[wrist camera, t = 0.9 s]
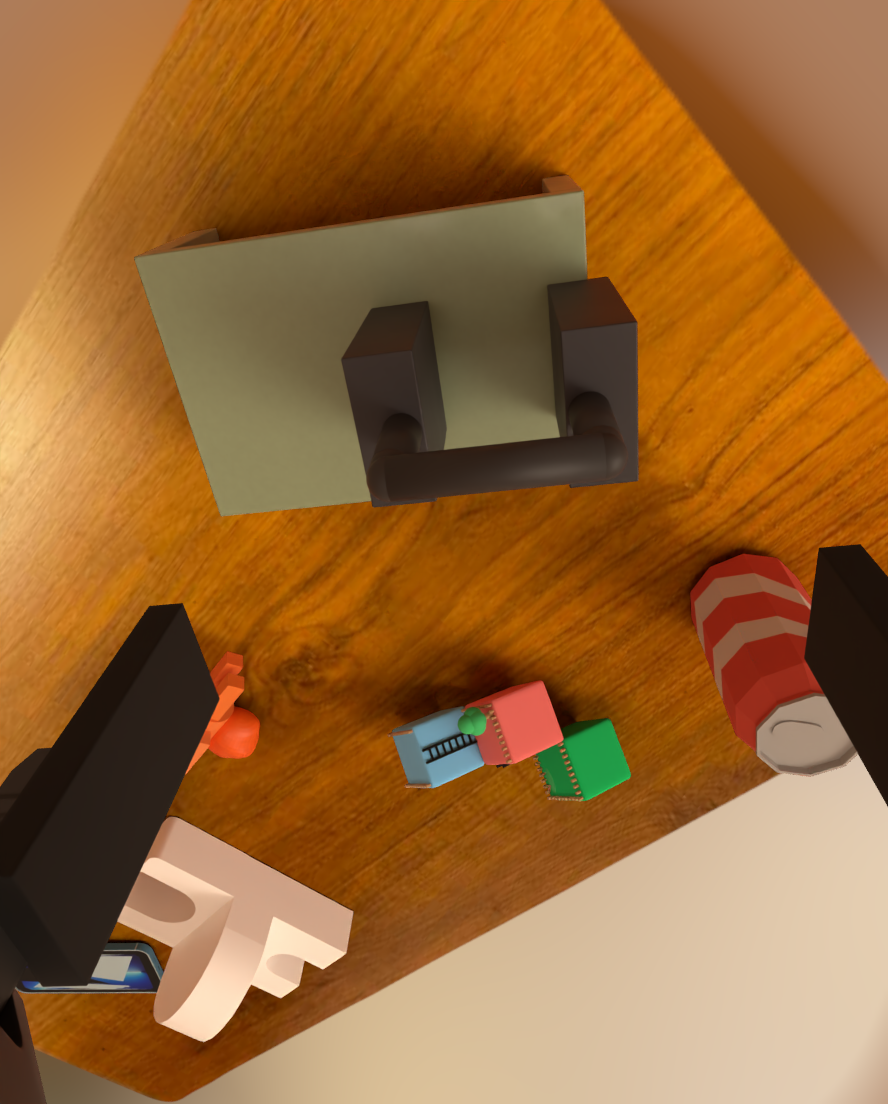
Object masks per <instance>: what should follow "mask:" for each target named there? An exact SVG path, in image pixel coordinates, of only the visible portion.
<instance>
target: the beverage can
mask: <svg viewBox="0 0 888 1104" xmlns="http://www.w3.org/2000/svg"><path fill="white" fill-rule="evenodd" d="M690 596H691V617H692V621H693V624H694V626H695V629H696V631H697V634H698V637H699V639H700V642H701V645H702V647H703V650H704V653H705V655H706V658H707V660H708V663H709V666H710V668H711V671H712V674H713V676H714V679H715V681H716V684H717V687H718V689H719V692H720V695H721V697H722V700H723V703H724V705H725V708H726V710H727V713H728V716H729V718H730V721H731V724H732V726H733V729H734V731H735V734H736V735H737V736H738V737H739V738H740V739H741V740H743V741H744V742H745V743H746V744H747V745H749V746H750V747H751V748H752V749H753V750H754V751H756V754H757V756H758V757H759V758H761V759H762V760H763V761H764V762H765V763H766V764H768V765H769V766H770V767H771V768H772V769H774V770H775V771H776V772H777V773H786V774H793V775H802V776H810V777H811V776H814V775H817V774H820V773H824V772H827V771H830V770H834V769H837V768H840V767H844V766H846V764H848V763H849V762H850V761H851V760H852V759H853V758H854V757H855V756H857V754H858V753H857V751H856V749H855V748H854V746H853V744H852V742H851V740H850V739H849V737H848V735H847V733H846V732H845V730H844V728H843V726H842V725H841V723H840V721H839V719H838V717H837V716H836V714H835V712H834V710H833V709H832V707H831V705H830V703H829V702H828V700H827V698H826V696H825V694H824V693H823V691H822V689H821V687H820V686H819V684H818V682H817V680H816V679H815V677H814V675H813V673H812V671H811V670H810V668H809V666H808V664H807V663H806V661H805V659H804V655H805V647H806V640H807V633H808V625H809V618H810V610H811V603H812V600H811V599H810V597H809V595H808V594H807V592H806V591H805V589H804V587H803V586H802V584H801V583H800V581H799V580H798V578H797V577H796V576H795V575H794V574H793V573H792V572H791V571H790V570H789V569H788V568H787V567H786V566H785V565H784V564H783V563H782V562H781V561H780V560H779V559H778V558H774V557H766V556H758V555H750V554H741V555H739V556H736V557H734V558H731V559H729V560H726V561H724V562H721V563H719V564H716V565H714V566H711V567H709V569H708V570H707V571H706V573H705V574H704V575H703V576H702V578H701V579H700V580H699V582H698V583H697V584H696V585H695V587H694V588H693V589H692V591H691V592H690Z"/></svg>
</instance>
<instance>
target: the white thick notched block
mask: <svg viewBox="0 0 888 1104" xmlns="http://www.w3.org/2000/svg"><path fill="white" fill-rule="evenodd" d="M352 917H353V911H351V910H349V909H347V908H345V907H344V906H342V905H340V904H338V903H336V902H334V901H332V900H330V899H329V898H327V897H325V896H323V895H321V894H319V893H317V892H315V891H314V890H312V889H310V888H308V887H306V886H304V885H302V884H300V883H299V882H297V881H295V880H293V879H291V878H289V877H287V876H285V875H283V874H282V873H280V872H278V871H276V870H274V869H272V868H270V867H268V866H267V865H265V864H263V863H261V862H259V861H257V860H255V859H253V858H252V857H250V856H248V855H247V854H245V853H243V852H241V851H240V850H238V849H236V848H234V847H232V846H230V845H228V844H226V843H225V842H223V841H221V840H219V839H217V838H215V837H213V836H211V835H210V834H208V833H206V832H204V831H202V830H200V829H198V828H196V827H195V826H193V825H191V824H189V823H187V822H185V821H183V820H181V819H180V818H177V817H169V818H167V819H166V820H165V821H164V822H163V823H162V825H161V827H160V830H159V832H158V834H157V836H156V838H155V840H154V843H153V845H152V847H151V849H150V851H149V853H148V856H147V858H146V860H145V862H144V864H143V866H142V869H141V871H140V873H139V875H138V877H137V879H136V882H135V884H134V886H133V888H132V890H131V892H130V895H129V897H128V899H127V901H126V903H125V905H124V908H123V910H122V912H121V914H120V916H119V918H118V922H120V923H122V924H124V925H126V926H128V927H131V928H133V929H135V930H137V931H139V932H141V933H143V934H145V935H147V936H150V937H152V938H154V939H156V940H158V941H160V942H162V943H164V944H167V945H169V946H171V947H173V949H172V952H171V955H170V957H169V960H168V963H167V965H166V968H165V971H164V973H163V976H162V979H161V982H160V985H159V988H158V991H157V995H156V999H155V1004H154V1018H155V1020H156V1022H158V1023H160V1024H162V1025H164V1026H167V1027H169V1028H171V1029H174V1030H176V1031H178V1032H181V1033H183V1034H185V1035H187V1036H190V1037H192V1038H194V1039H197V1040H199V1041H203V1042H205V1041H207V1040H209V1039H211V1038H213V1037H214V1036H215V1035H216V1034H217V1033H218V1032H219V1031H220V1030H222V1028H223V1027H224V1026H225V1025H226V1023H227V1022H228V1021H229V1020H230V1018H231V1017H232V1016H233V1014H234V1013H235V1011H236V1009H237V1008H238V1006H239V1005H240V1003H241V1002H242V1000H243V998H244V996H245V994H246V992H247V990H248V988H249V987H250V985H251V984H252V985H254V986H256V987H258V988H260V989H262V990H264V991H267V992H269V993H271V994H273V995H275V996H277V997H279V998H282V997H283V996H285V995H286V994H288V993H289V992H291V991H292V990H294V989H295V988H297V987H298V986H299V983H300V979H301V974H302V970H303V965H304V960H305V961H307V962H309V963H311V964H313V965H315V966H317V967H319V968H321V969H324V968H326V967H327V966H329V965H330V964H332V963H333V962H335V961H336V960H337V959H339V958H340V957H342V956H343V955H345V954H346V952H347V946H348V940H349V934H350V928H351V923H352Z"/></svg>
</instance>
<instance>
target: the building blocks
mask: <svg viewBox="0 0 888 1104" xmlns="http://www.w3.org/2000/svg"><path fill="white" fill-rule="evenodd" d="M390 736H393V738H394V741H395V744H396V747H397V750H398V753H399V756H400V759H401V762H402V765H403V768H404V771H405V774H406V777H407V780H408V782H409V783H408V784H406V785H405V788H406V787H408V788H409V787H410V788H411V787H412V788H435V787H437V786H440V785H442V784H444V783H446V782H448V781H451V780H453V779H455V778H457V777H459V776H462V775H464V774H466V773H468V772H471V771H473V770H475V769H477V768H479V767H481V766H483V765H484V763H485V764H487V765H494V764H499V765H497V768H498V767H500V766H503V768H504V767H506V766H508V765H510V764H514V763H517V762H519V761H521V760H524V759H526V758H528V757H530V756H532V755H534V754H536V756H535V757H533V759H534V760H536V759H538V761H539V762H536V763H535V765H536V766H537V765H539V764H540V768H538V769H537V771H541V770H542V773H541V774H539V776H540V777H542V776H544V778H545V779H543V780H541V782H542V783H543V782H545V781H546V785H544V786H543V787H544V789H545V788H547V787H548V790H547V791H545V793H546V794H548V793H550V795H551V796H549V797H547V799H548V800H550V799H551V800H553V799H554V800H568V801H569V800H571V801H586V800H589V799H591V798H593V797H595V796H597V795H599V794H601V793H603V792H604V791H606V790H608V789H610V788H612V787H614V786H616V785H618V784H620V783H622V782H624V781H625V780H627V779H629V778H630V777H631V773H630V770H629V767H628V765H627V762H626V759H625V757H624V754H623V751H622V749H621V746H620V743H619V741H618V738H617V736H616V733H615V730H614V728H613V725H612V722H611V720H610V719H608V718H604V719H596V720H588V721H580V722H575V723H573V724H571V725H568V726H566V727H564V728H562V729H560V726H559V724H558V721H557V718H556V715H555V713H554V710H553V707H552V704H551V702H550V699H549V696H548V694H547V691H546V688H545V685H544V683H543V681H541V680H539V681H534V682H530V683H525V684H521V685H517V686H513V687H510V688H507V689H505V690H502V691H500V692H497V693H495V694H492V695H490V696H487V697H485V698H482V699H480V700H477V701H475V702H472V703H470V704H468V705H466V706H465V707H464V706H460V707H455V708H451V709H446V710H441V711H438V712H435V713H433V714H430V715H428V716H425V717H423V718H420V719H418V720H415V721H413V722H410V723H408V724H405V725H402V726H400V727H397V728H395V729H393V730H392V733H390V734H388V737H390Z"/></svg>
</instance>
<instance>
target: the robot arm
mask: <svg viewBox="0 0 888 1104" xmlns="http://www.w3.org/2000/svg"><path fill="white" fill-rule="evenodd" d="M804 659H805V661H806V663H807V664H808V666H809V668H810V670H811V671H812V673H813V675H814V677H815V679H816V680H817V682H818V684H819V686H820V687H821V689H822V691H823V693H824V694H825V696H826V698H827V700H828V702H829V703H830V705H831V707H832V709H833V710H834V712H835V714H836V716H837V717H838V719H839V721H840V723H841V725H842V726H843V728H844V730H845V732H846V733H847V735H848V737H849V739H850V740H851V742H852V744H853V746H854V748H855V749H856V751H857V753H858V755H859V756H860V758H861V760H862V762H863V763H864V765H865V767H866V769H867V771H868V772H869V774H870V776H871V778H872V779H873V781H874V783H875V785H876V786H877V788H878V790H879V792H880V793H881V795H882V797H883V799H884V801H885V802H886V804H887V806H888V577H887V575H886V574H885V573H884V572H883V571H882V569H881V568H880V567H879V566H878V565H877V563H876V562H875V561H874V560H873V559H872V558H871V556H870V555H869V554H868V553H867V552H866V550H865V549H864V548H863V547H862V546H861V544H859V545H847V546H836V547H824V548H819V551H818V559H817V566H816V574H815V581H814V588H813V596H812V603H811V610H810V618H809V625H808V633H807V640H806V647H805V655H804ZM219 700H220V698H219V696H218V693H217V691H216V688H215V685H214V683H213V680H212V678H211V675H210V672H209V670H208V667H207V665H206V662H205V660H204V657H203V654H202V652H201V649H200V647H199V644H198V642H197V639H196V636H195V634H194V631H193V629H192V626H191V623H190V621H189V618H188V616H187V613H186V611H185V608H184V605H183V603H180V604H168V605H157V606H149V607H148V609H147V610H146V612H145V613H144V615H143V616H142V618H141V619H140V620H139V622H138V623H137V625H136V626H135V628H134V629H133V631H132V632H131V634H130V635H129V636H128V638H127V639H126V641H125V642H124V644H123V645H122V647H121V648H120V649H119V651H118V652H117V654H116V655H115V657H114V658H113V660H112V661H111V663H110V664H109V665H108V667H107V668H106V670H105V671H104V673H103V674H102V676H101V677H100V678H99V680H98V681H97V683H96V684H95V686H94V687H93V689H92V690H91V691H90V693H89V694H88V696H87V697H86V699H85V700H84V702H83V703H82V705H81V706H80V707H79V709H78V710H77V712H76V713H75V715H74V716H73V718H72V719H71V720H70V722H69V723H68V725H67V726H66V728H65V729H64V731H63V732H62V734H61V735H60V736H59V738H58V739H57V741H56V742H55V744H54V745H53V747H52V748H42V749H37V750H36V751H34V752H33V753H32V754H31V755H30V756H29V757H27V758H26V759H25V760H24V761H23V762H22V763H20V764H19V765H18V766H17V767H16V768H14V769H13V770H12V771H11V773H10V774H9V775H8V777H7V778H6V780H5V781H4V782H3V784H2V785H1V786H0V1104H47V1103H46V1099H45V1095H44V1090H43V1086H42V1082H41V1077H40V1073H39V1069H38V1065H37V1060H36V1056H35V1052H34V1047H33V1043H32V1038H31V1034H30V1030H29V1025H28V1021H27V1017H26V1012H25V1008H24V1004H23V1000H22V999H21V997H20V995H19V994H18V992H17V991H16V989H15V987H16V985H17V983H18V981H19V980H20V978H21V976H22V974H23V972H24V970H25V969H26V967H28V968H29V969H30V971H31V972H32V973H33V975H34V976H35V977H36V979H37V980H38V981H39V983H40V984H41V985H42V987H61V986H87V985H88V983H89V981H90V979H91V977H92V975H93V972H94V970H95V968H96V966H97V964H98V962H99V959H100V957H101V955H102V953H103V951H104V949H105V946H106V944H107V942H108V940H109V938H110V936H111V933H112V931H113V929H114V927H115V925H116V923H117V921H118V918H119V916H120V914H121V912H122V910H123V908H124V905H125V903H126V901H127V899H128V897H129V895H130V892H131V890H132V888H133V886H134V884H135V882H136V879H137V877H138V875H139V873H140V871H141V869H142V866H143V864H144V862H145V860H146V858H147V856H148V853H149V851H150V849H151V847H152V845H153V843H154V840H155V838H156V836H157V834H158V832H159V830H160V827H161V825H162V823H163V821H164V819H165V817H166V814H167V812H168V810H169V808H170V806H171V804H172V802H173V799H174V797H175V795H176V793H177V791H178V789H179V786H180V784H181V782H182V780H183V778H184V776H185V773H186V771H187V769H188V767H189V765H190V763H191V760H192V758H193V756H194V754H195V752H196V750H197V747H198V745H199V743H200V741H201V739H202V737H203V734H204V732H205V730H206V728H207V726H208V724H209V721H210V719H211V717H212V715H213V713H214V711H215V708H216V706H217V704H218V702H219Z"/></svg>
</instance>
